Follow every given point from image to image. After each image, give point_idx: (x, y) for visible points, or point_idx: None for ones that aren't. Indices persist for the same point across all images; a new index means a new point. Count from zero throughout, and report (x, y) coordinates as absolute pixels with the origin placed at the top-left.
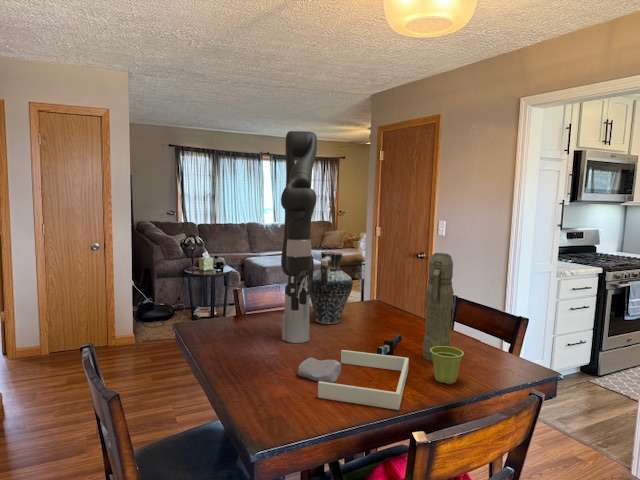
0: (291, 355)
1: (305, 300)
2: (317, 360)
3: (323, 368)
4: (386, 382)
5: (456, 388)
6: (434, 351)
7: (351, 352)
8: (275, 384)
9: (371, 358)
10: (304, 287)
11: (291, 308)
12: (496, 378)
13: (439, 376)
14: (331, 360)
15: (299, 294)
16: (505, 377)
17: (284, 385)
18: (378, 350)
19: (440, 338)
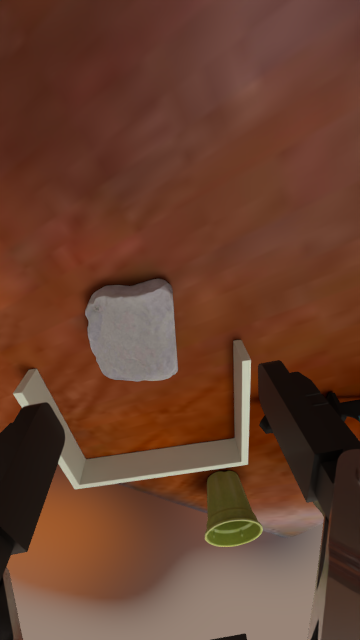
0: (243, 187)
1: (272, 424)
2: (159, 327)
3: (119, 357)
4: (170, 430)
5: (197, 490)
6: (245, 513)
7: (241, 381)
8: (10, 261)
9: (239, 409)
10: (315, 602)
11: (21, 413)
12: (253, 509)
13: (209, 486)
14: (163, 365)
15: (301, 433)
16: (260, 514)
17: (24, 285)
18: (263, 427)
19: (321, 511)
